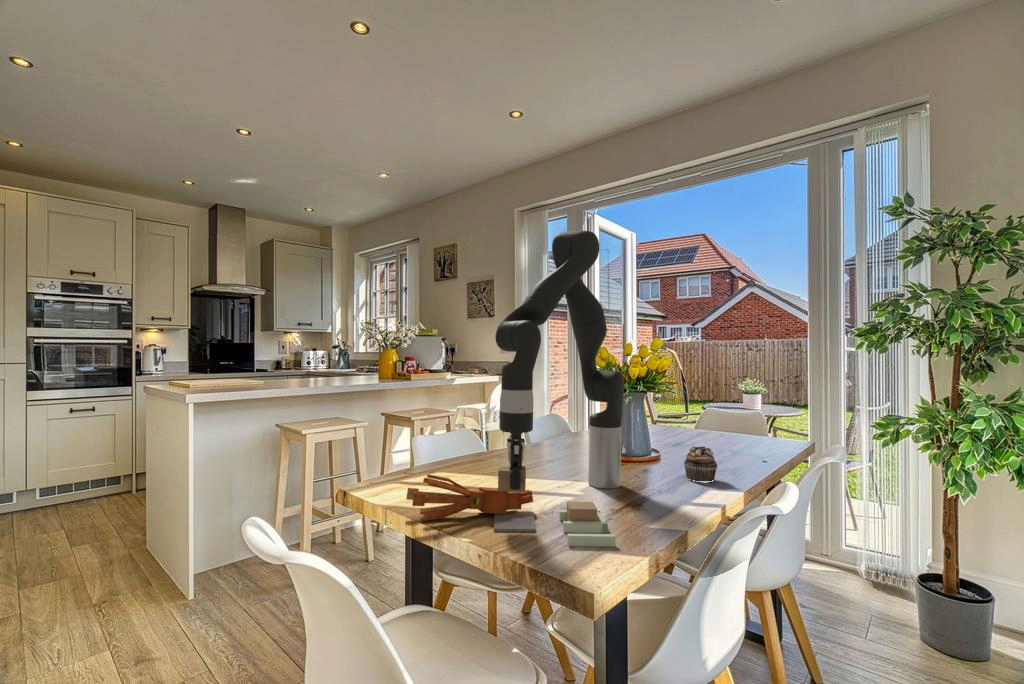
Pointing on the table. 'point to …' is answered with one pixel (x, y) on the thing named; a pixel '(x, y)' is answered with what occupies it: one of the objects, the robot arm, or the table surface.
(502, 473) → the block
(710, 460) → the cupcake
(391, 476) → the table surface
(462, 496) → the toy
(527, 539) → the table surface
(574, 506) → the rack
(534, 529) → the pad
